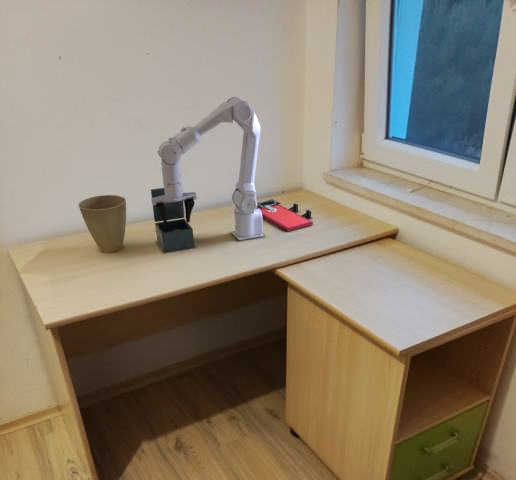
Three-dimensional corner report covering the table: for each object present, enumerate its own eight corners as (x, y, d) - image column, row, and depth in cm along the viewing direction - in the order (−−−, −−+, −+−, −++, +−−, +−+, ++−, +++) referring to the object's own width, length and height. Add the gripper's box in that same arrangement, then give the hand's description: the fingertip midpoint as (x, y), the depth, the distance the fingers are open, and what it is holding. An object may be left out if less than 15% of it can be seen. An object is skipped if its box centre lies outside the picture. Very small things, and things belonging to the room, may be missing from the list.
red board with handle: (276, 200, 209) (245, 208, 202) (276, 193, 207) (244, 201, 201) (320, 223, 188) (287, 232, 182) (321, 216, 186) (287, 225, 180)
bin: (194, 247, 171) (192, 228, 167) (164, 252, 167) (161, 233, 164) (186, 236, 179) (184, 218, 175) (157, 241, 175) (154, 222, 172)
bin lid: (182, 186, 167) (181, 185, 168) (151, 190, 164) (150, 189, 165) (184, 217, 174) (183, 216, 175) (154, 222, 171) (154, 221, 172)
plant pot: (139, 240, 176) (132, 195, 167) (123, 258, 164) (115, 210, 155) (99, 238, 178) (90, 193, 169) (80, 255, 166) (70, 208, 157)
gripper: (152, 188, 155) (158, 230, 163) (197, 182, 160) (201, 223, 167) (147, 182, 161) (153, 223, 168) (191, 176, 165) (195, 216, 173)
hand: (176, 223), depth 168 cm, fingers open, 7 cm apart
